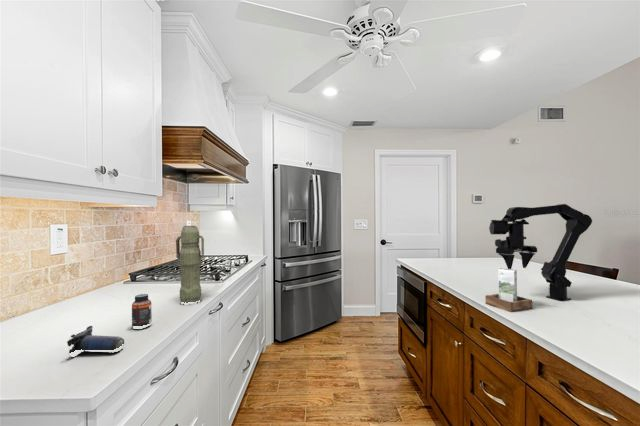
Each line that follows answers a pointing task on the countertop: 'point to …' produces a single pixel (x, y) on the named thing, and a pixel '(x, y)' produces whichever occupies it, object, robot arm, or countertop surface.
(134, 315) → the supplement bottle
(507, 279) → the syrup box
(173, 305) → the countertop surface
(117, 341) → the spiky navy capsule
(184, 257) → the thermos
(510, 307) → the walnut caddy
